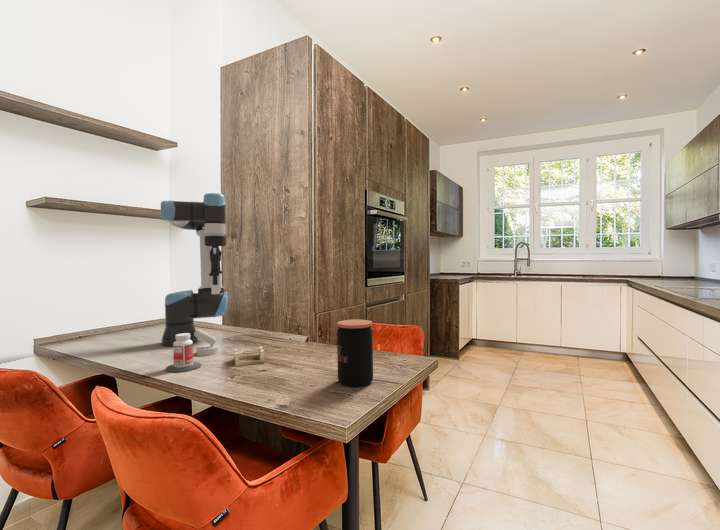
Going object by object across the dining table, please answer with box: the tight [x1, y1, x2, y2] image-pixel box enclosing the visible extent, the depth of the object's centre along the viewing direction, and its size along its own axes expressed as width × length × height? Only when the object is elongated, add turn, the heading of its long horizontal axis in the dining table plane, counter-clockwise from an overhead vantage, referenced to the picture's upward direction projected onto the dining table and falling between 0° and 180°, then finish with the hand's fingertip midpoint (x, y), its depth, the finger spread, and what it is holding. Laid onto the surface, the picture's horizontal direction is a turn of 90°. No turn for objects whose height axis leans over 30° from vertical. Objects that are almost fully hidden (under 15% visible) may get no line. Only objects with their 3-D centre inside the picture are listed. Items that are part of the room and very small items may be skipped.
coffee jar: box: [336, 318, 374, 388], centre depth 115 cm, size 11×11×18 cm
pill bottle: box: [172, 333, 194, 368], centre depth 133 cm, size 6×6×11 cm
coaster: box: [165, 361, 202, 373], centre depth 133 cm, size 11×11×1 cm
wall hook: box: [194, 328, 221, 357], centre depth 154 cm, size 9×10×10 cm
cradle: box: [233, 346, 266, 367], centre depth 141 cm, size 10×10×4 cm
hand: (216, 292), depth 143 cm, fingers open, 13 cm apart
